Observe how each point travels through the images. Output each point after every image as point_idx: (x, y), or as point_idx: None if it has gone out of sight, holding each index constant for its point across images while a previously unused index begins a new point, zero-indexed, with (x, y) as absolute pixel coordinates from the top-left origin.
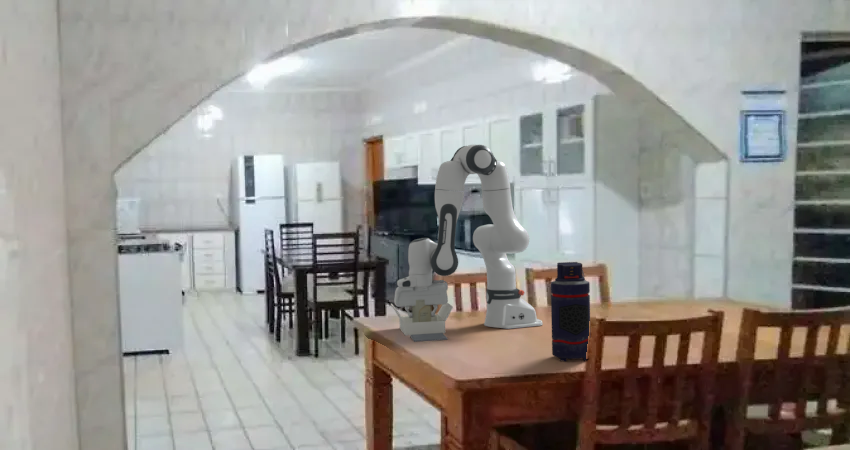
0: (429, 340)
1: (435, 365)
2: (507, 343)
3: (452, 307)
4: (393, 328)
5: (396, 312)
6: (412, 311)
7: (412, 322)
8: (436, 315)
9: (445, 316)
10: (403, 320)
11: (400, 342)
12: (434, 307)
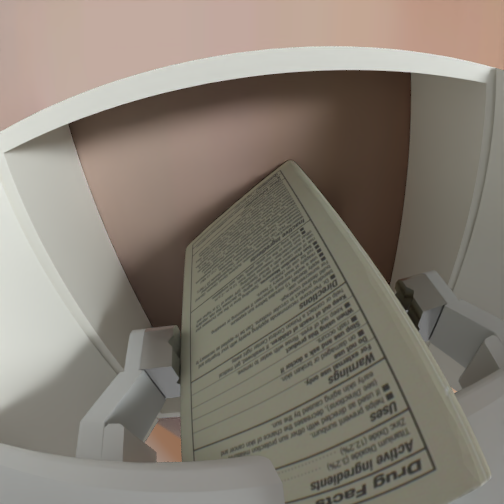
0: None
1: None
2: (454, 392)
3: None
4: (8, 123)
5: (37, 412)
6: (187, 401)
7: (184, 297)
8: (479, 81)
9: (448, 361)
10: (148, 435)
11: (172, 427)
12: (460, 378)
